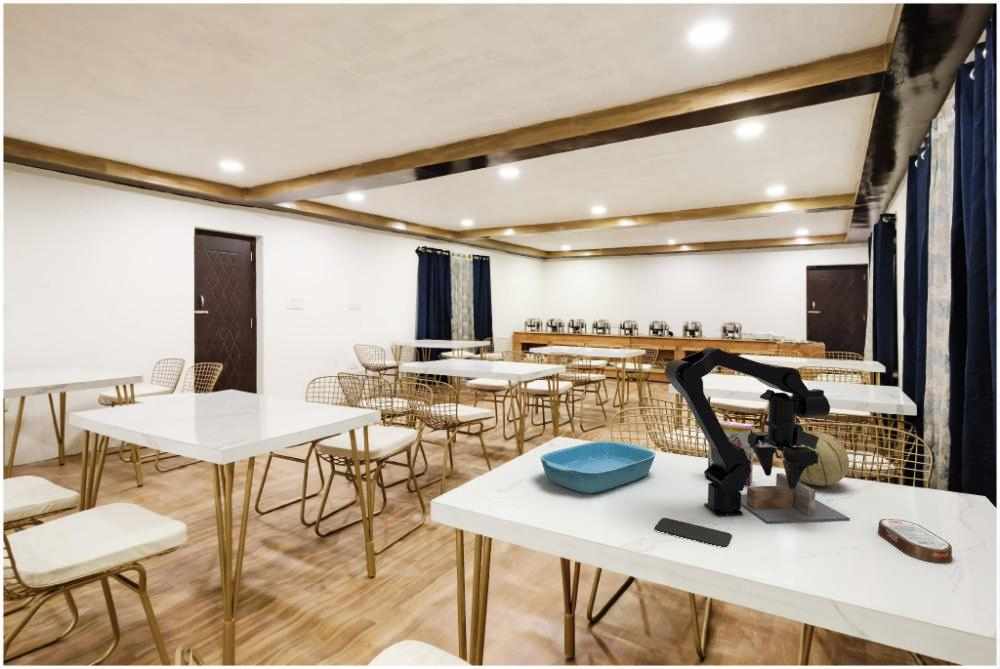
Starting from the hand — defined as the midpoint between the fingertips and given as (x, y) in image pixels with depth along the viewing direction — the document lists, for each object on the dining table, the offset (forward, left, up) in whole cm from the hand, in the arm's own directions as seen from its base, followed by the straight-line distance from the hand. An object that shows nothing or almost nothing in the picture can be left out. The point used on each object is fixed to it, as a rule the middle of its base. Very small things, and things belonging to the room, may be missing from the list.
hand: (779, 481), depth 124 cm
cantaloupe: (+21, +15, -7) cm, 27 cm away
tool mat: (+2, 0, -7) cm, 7 cm away
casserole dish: (-37, +26, -7) cm, 46 cm away
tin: (+11, -19, -5) cm, 23 cm away
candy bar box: (-1, +20, -7) cm, 21 cm away
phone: (-27, -11, -7) cm, 30 cm away
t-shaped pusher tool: (-2, 0, -6) cm, 6 cm away
